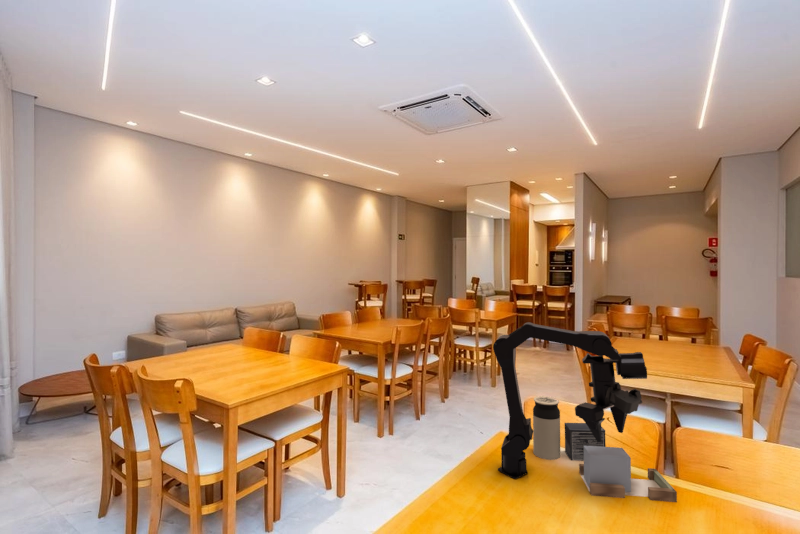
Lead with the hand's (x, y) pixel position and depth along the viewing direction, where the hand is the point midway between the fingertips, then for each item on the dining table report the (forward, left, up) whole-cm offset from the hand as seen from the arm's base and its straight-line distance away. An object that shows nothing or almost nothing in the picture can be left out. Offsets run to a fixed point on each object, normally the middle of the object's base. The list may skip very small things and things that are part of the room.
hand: (610, 437), depth 112 cm
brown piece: (+3, +2, -14) cm, 14 cm away
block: (0, -1, -13) cm, 13 cm away
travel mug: (-21, +2, -14) cm, 26 cm away
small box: (-13, +10, -14) cm, 22 cm away
